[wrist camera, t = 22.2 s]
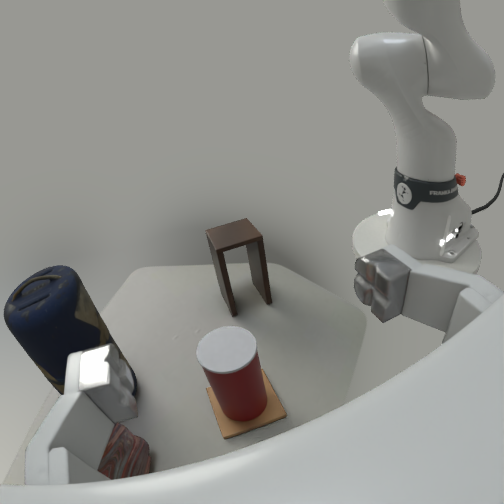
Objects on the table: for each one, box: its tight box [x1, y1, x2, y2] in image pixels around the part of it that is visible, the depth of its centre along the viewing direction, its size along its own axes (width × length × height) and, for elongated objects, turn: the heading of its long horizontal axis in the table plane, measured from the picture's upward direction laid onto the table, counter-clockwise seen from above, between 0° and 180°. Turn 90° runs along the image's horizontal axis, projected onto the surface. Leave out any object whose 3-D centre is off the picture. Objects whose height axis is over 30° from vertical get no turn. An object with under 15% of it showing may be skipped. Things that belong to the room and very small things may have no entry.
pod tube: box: [196, 326, 267, 421], centre depth 28 cm, size 5×5×9 cm
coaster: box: [206, 369, 287, 439], centre depth 30 cm, size 7×7×1 cm
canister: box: [4, 266, 137, 397], centre depth 28 cm, size 10×10×18 cm
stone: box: [97, 423, 151, 480], centre depth 19 cm, size 13×8×10 cm
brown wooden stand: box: [206, 218, 272, 316], centre depth 43 cm, size 6×6×11 cm
